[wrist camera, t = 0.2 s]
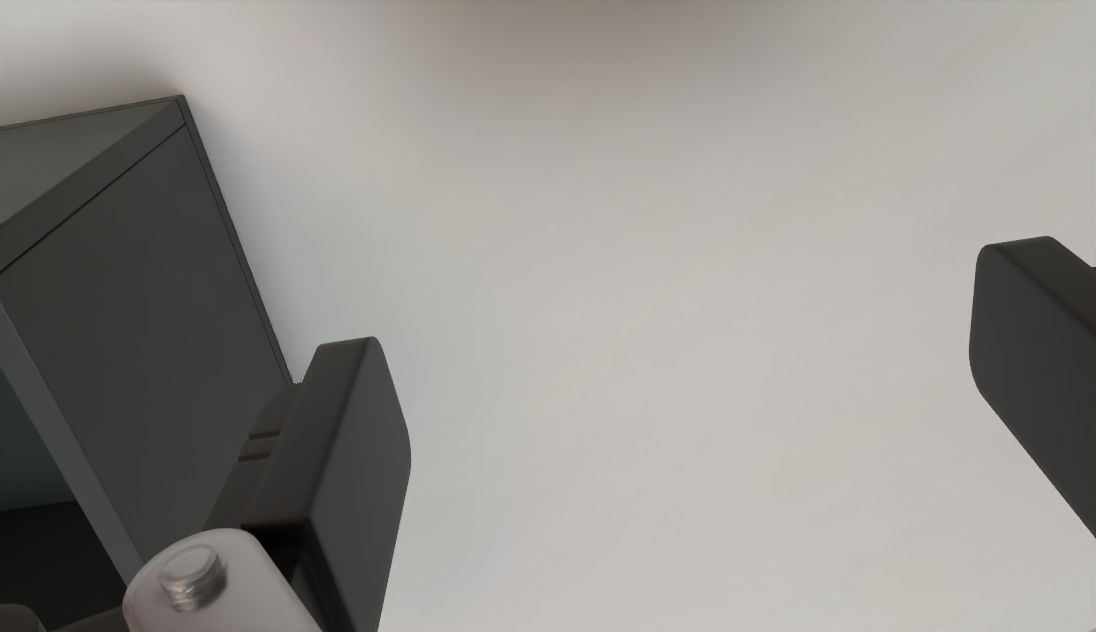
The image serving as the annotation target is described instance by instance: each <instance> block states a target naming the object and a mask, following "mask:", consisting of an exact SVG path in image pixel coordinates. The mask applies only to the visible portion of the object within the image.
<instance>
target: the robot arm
mask: <svg viewBox="0 0 1096 632" xmlns="http://www.w3.org/2000/svg"><path fill="white" fill-rule="evenodd" d="M969 360H970V366H971V371H972V375H973V378H974V381H975V383H976V386H977V388H978V390H979V392H980V393H981V395H982V396H983V397H984V399H985V400H986V401H987V402H988V404H989V405H990V406H991V407H992V409H993V410H994V411H995V412H996V414H997V415H998V416H999V417H1000V419H1001V420H1002V421H1003V422H1004V424H1005V425H1006V426H1007V427H1008V429H1009V430H1010V431H1011V432H1012V434H1013V435H1014V436H1015V438H1016V439H1017V440H1018V441H1019V443H1020V444H1021V445H1022V446H1023V448H1024V449H1025V450H1026V451H1027V453H1028V454H1029V455H1030V456H1031V458H1032V459H1033V460H1034V461H1035V463H1036V464H1037V465H1038V466H1039V468H1040V469H1041V470H1042V471H1043V473H1044V474H1045V475H1046V476H1047V478H1048V479H1049V480H1050V481H1051V483H1052V484H1053V485H1054V486H1055V488H1056V489H1057V490H1058V491H1059V493H1060V494H1061V495H1062V497H1063V498H1064V499H1065V500H1066V502H1067V503H1068V504H1069V505H1070V507H1071V508H1072V509H1073V510H1074V512H1075V513H1076V514H1077V515H1078V517H1079V518H1080V519H1081V520H1082V522H1083V523H1084V524H1085V525H1086V527H1087V528H1088V529H1089V530H1090V532H1091V533H1092V534H1093V535H1094V537H1095V538H1096V267H1091V266H1089V265H1088V264H1087V263H1085V262H1084V261H1083V260H1082V259H1080V258H1079V257H1078V256H1076V255H1075V254H1074V253H1072V252H1071V251H1070V250H1069V249H1067V248H1066V247H1065V246H1063V245H1062V244H1061V243H1060V242H1058V241H1057V240H1056V239H1054V238H1052V237H1049V236H1042V237H1036V238H1029V239H1022V240H1016V241H1009V242H1003V243H996V244H989V245H986V246H984V247H983V248H982V249H981V251H980V253H979V255H978V258H977V263H976V273H975V284H974V296H973V307H972V318H971V330H970V341H969ZM248 436H249V440H247V441H245V443H244V445H243V447H242V449H241V451H240V453H239V456H238V462H236V463H235V464H234V466H233V468H232V470H231V472H230V474H229V476H228V478H227V480H226V482H225V484H224V486H223V488H222V490H221V492H220V494H219V496H218V498H217V500H216V502H215V504H214V506H213V508H212V511H211V513H210V515H209V517H208V519H207V521H206V523H205V525H204V527H203V529H202V531H201V532H200V533H197V534H194V535H192V536H189V537H186V538H184V539H182V540H180V541H178V542H176V543H174V544H172V545H171V546H169V547H168V548H166V549H164V550H163V551H161V552H160V553H159V554H157V555H156V556H155V557H153V558H152V559H151V560H150V561H149V562H148V563H147V564H145V565H144V566H143V568H142V569H141V570H140V571H139V572H138V573H137V574H136V576H135V577H134V578H133V580H132V581H131V583H130V584H129V586H128V588H127V590H126V592H125V596H124V599H123V604H122V605H120V606H118V607H115V608H113V609H110V610H107V611H105V612H102V613H99V614H96V615H94V616H91V617H88V618H86V619H83V620H80V621H78V622H75V623H72V624H69V625H67V626H64V627H61V628H59V629H56V630H53V631H51V632H377V631H378V626H379V621H380V616H381V612H382V607H383V602H384V597H385V592H386V587H387V582H388V578H389V573H390V568H391V563H392V558H393V553H394V548H395V544H396V539H397V534H398V529H399V524H400V519H401V514H402V510H403V505H404V500H405V495H406V490H407V485H408V480H409V476H410V470H411V449H410V441H409V435H408V430H407V426H406V423H405V420H404V417H403V413H402V410H401V407H400V404H399V400H398V397H397V394H396V391H395V387H394V384H393V381H392V378H391V374H390V371H389V368H388V365H387V362H386V358H385V355H384V352H383V349H382V347H381V344H380V343H379V341H378V340H377V338H375V337H373V336H372V337H365V338H358V339H352V340H345V341H339V342H332V343H325V344H321V345H319V346H318V348H317V350H316V352H315V354H314V356H313V359H312V361H311V363H310V365H309V368H308V370H307V372H306V375H305V377H304V379H303V381H302V383H297V384H290V385H286V386H285V387H284V388H283V389H282V390H281V391H280V392H279V393H278V394H277V395H276V396H275V397H274V398H273V399H272V400H271V401H270V402H268V403H267V404H266V405H265V406H264V407H263V408H262V409H261V411H260V413H259V415H258V417H257V419H256V421H255V423H254V425H253V427H252V429H251V431H250V433H249V435H248ZM0 632H47V631H46V629H45V628H44V626H43V625H42V623H41V622H40V620H39V619H38V617H37V616H36V614H35V613H34V612H33V611H32V610H31V609H30V608H28V607H26V606H24V605H20V604H9V603H7V604H0Z"/></svg>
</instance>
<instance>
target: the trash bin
mask: <svg viewBox="0 0 1096 632" xmlns="http://www.w3.org/2000/svg"><path fill="white" fill-rule="evenodd" d="M290 384H293V383H292V380H291V378H290V375H289V372H288V370H287V367H286V364H285V362H284V359H283V357H282V354H281V351H280V349H279V346H278V343H277V341H276V338H275V335H274V333H273V330H272V328H271V325H270V322H269V320H268V317H267V314H266V312H265V309H264V306H263V304H262V301H261V299H260V296H259V293H258V291H257V288H256V285H255V283H254V280H253V277H252V275H251V272H250V270H249V267H248V264H247V262H246V259H245V256H244V254H243V251H242V248H241V246H240V243H239V241H238V238H237V235H236V233H235V230H234V227H233V225H232V222H231V219H230V217H229V214H228V212H227V209H226V206H225V204H224V201H223V198H222V196H221V193H220V190H219V188H218V185H217V183H216V180H215V177H214V175H213V172H212V169H211V167H210V164H209V161H208V159H207V156H206V154H205V151H204V148H203V146H202V143H201V140H200V138H199V135H198V132H197V130H196V127H195V125H194V122H193V119H192V117H191V114H190V111H189V109H188V106H187V103H186V101H185V98H184V96H183V95H178V96H172V97H166V98H161V99H155V100H149V101H144V102H138V103H132V104H127V105H121V106H115V107H110V108H104V109H98V110H93V111H87V112H81V113H75V114H70V115H64V116H58V117H53V118H47V119H41V120H36V121H30V122H24V123H19V124H13V125H7V126H2V127H0V604H7V603H9V604H20V605H24V606H26V607H28V608H30V609H31V610H32V611H33V612H34V613H35V614H36V616H37V617H38V619H39V620H40V622H41V623H42V625H43V626H44V628H45V629H46V631H47V632H51V631H53V630H56V629H59V628H61V627H64V626H67V625H69V624H72V623H75V622H78V621H80V620H83V619H86V618H88V617H91V616H94V615H96V614H99V613H102V612H105V611H107V610H110V609H113V608H115V607H118V606H120V605H122V604H123V599H124V596H125V592H126V590H127V588H128V586H129V584H130V583H131V581H132V580H133V578H134V577H135V576H136V574H137V573H138V572H139V571H140V570H141V569H142V568H143V566H144V565H145V564H147V563H148V562H149V561H150V560H151V559H152V558H153V557H155V556H156V555H157V554H159V553H160V552H161V551H163V550H164V549H166V548H168V547H169V546H171V545H172V544H174V543H176V542H178V541H180V540H182V539H184V538H186V537H189V536H192V535H194V534H197V533H200V532H201V531H202V529H203V527H204V525H205V523H206V521H207V519H208V517H209V515H210V513H211V511H212V508H213V506H214V504H215V502H216V500H217V498H218V496H219V494H220V492H221V490H222V488H223V486H224V484H225V482H226V480H227V478H228V476H229V474H230V472H231V470H232V468H233V466H234V464H235V463H236V462H238V456H239V453H240V451H241V449H242V447H243V445H244V443H245V441H247V440H249V436H248V435H249V433H250V431H251V429H252V427H253V425H254V423H255V421H256V419H257V417H258V415H259V413H260V411H261V409H262V408H263V407H264V406H265V405H266V404H267V403H268V402H270V401H271V400H272V399H273V398H274V397H275V396H276V395H277V394H278V393H279V392H280V391H281V390H282V389H283V388H284V387H285V386H286V385H290Z"/></svg>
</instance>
